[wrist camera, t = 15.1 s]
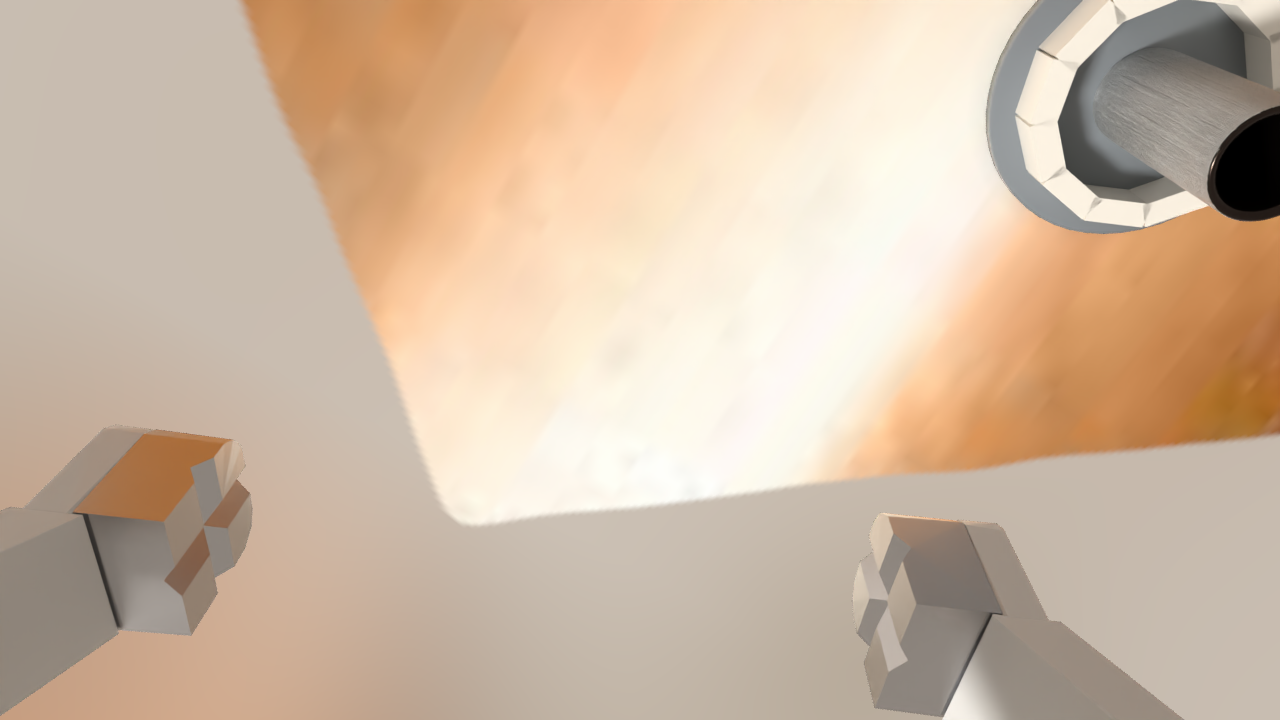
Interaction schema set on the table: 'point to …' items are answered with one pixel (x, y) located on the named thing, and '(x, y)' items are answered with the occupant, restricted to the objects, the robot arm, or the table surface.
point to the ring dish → (1065, 89)
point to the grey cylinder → (1196, 129)
